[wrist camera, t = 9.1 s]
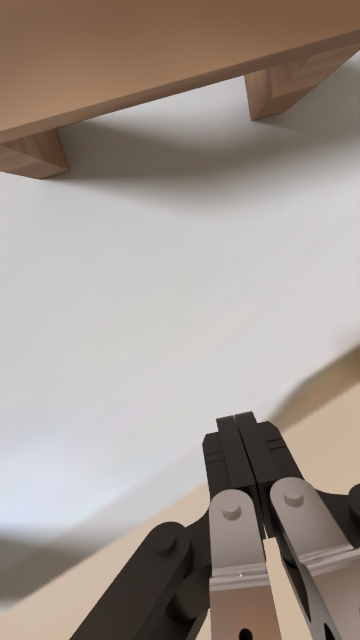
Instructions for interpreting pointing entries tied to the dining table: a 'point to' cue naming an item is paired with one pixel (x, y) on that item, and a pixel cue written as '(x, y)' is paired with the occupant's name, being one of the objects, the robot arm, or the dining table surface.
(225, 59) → the bridge
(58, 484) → the dining table surface
